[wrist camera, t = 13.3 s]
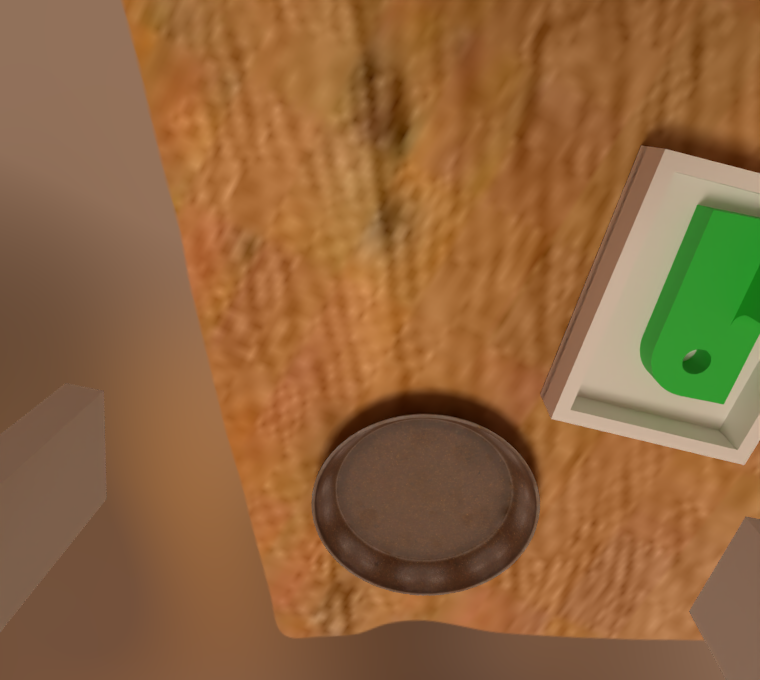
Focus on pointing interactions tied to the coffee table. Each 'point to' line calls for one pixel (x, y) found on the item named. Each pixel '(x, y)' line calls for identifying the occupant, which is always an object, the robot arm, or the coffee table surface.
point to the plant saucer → (425, 504)
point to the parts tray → (633, 311)
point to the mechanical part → (707, 307)
